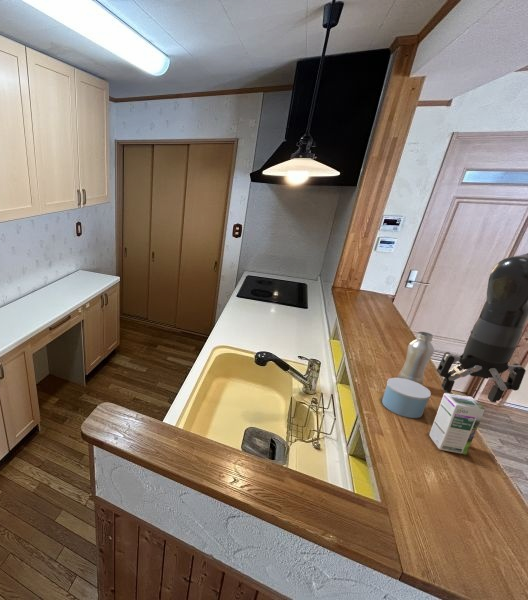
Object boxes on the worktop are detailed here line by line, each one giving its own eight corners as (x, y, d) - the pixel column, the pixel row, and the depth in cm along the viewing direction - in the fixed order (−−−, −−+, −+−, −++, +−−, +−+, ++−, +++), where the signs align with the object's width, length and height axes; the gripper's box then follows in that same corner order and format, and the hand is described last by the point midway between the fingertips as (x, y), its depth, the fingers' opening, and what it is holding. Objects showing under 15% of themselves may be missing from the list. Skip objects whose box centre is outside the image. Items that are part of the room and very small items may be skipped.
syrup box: (439, 450, 86) (457, 405, 81) (427, 434, 91) (444, 391, 86) (466, 455, 84) (486, 409, 79) (453, 439, 89) (471, 395, 84)
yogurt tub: (417, 402, 104) (424, 382, 101) (428, 422, 95) (436, 401, 93) (378, 393, 108) (383, 374, 106) (385, 412, 100) (391, 392, 97)
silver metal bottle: (398, 377, 117) (414, 327, 110) (422, 386, 112) (441, 334, 105) (393, 384, 113) (409, 333, 106) (418, 393, 108) (437, 340, 101)
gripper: (460, 339, 76) (437, 396, 81) (547, 352, 70) (516, 413, 75) (447, 327, 82) (427, 381, 88) (526, 337, 76) (499, 394, 82)
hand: (468, 395), depth 81 cm, fingers open, 8 cm apart
